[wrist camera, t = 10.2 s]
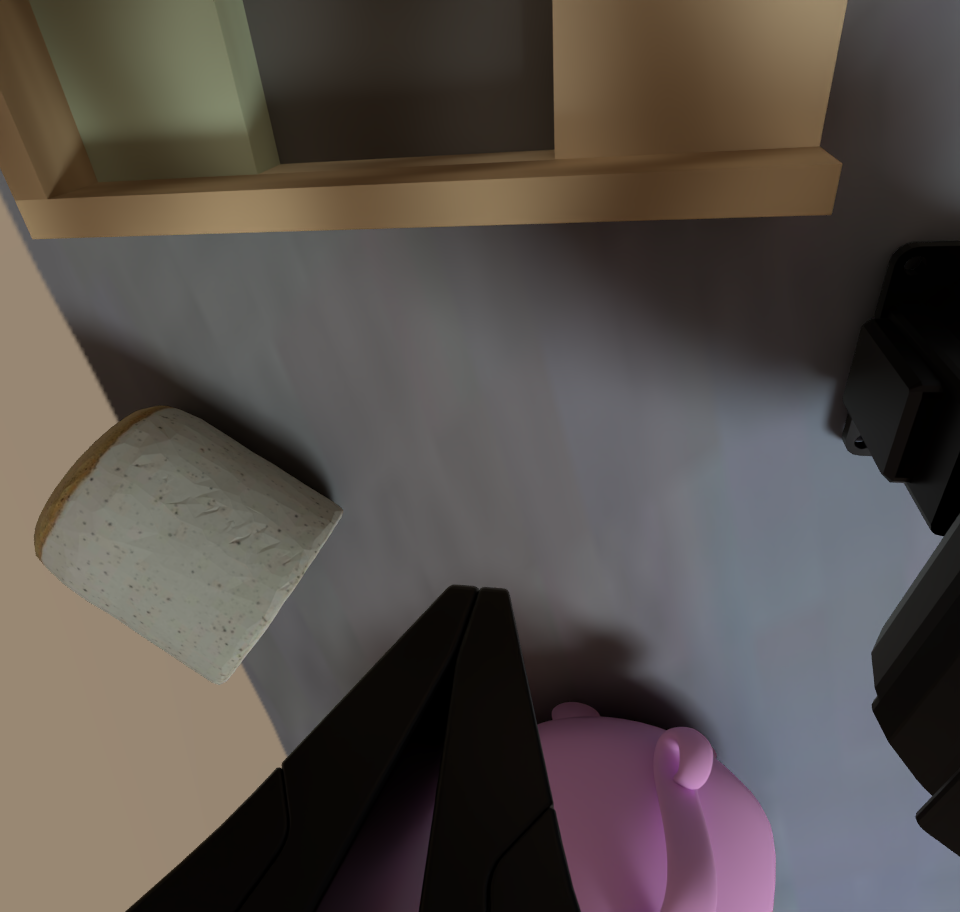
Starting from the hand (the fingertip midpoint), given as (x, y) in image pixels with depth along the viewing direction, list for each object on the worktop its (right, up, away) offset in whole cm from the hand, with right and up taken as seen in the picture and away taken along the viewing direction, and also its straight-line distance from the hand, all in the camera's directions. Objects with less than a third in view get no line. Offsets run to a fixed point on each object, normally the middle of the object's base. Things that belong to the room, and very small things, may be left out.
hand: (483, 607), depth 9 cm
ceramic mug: (-10, 0, +19) cm, 21 cm away
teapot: (+7, -14, +25) cm, 29 cm away
